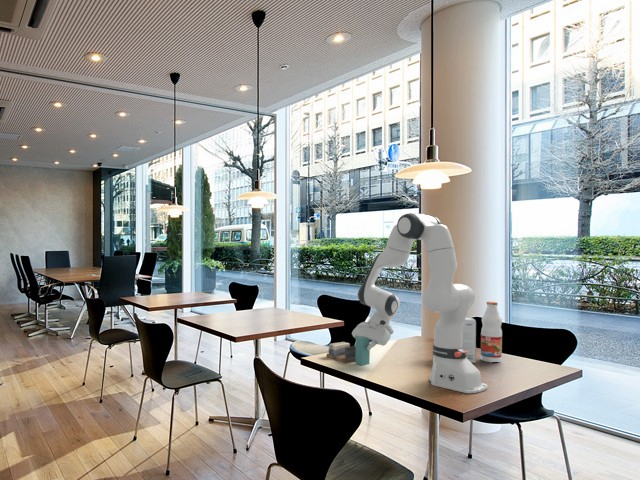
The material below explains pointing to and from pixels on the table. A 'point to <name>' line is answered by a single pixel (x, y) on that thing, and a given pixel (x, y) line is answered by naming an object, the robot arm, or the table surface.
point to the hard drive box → (470, 339)
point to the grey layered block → (342, 352)
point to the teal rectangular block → (362, 351)
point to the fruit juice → (491, 334)
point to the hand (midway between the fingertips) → (361, 348)
